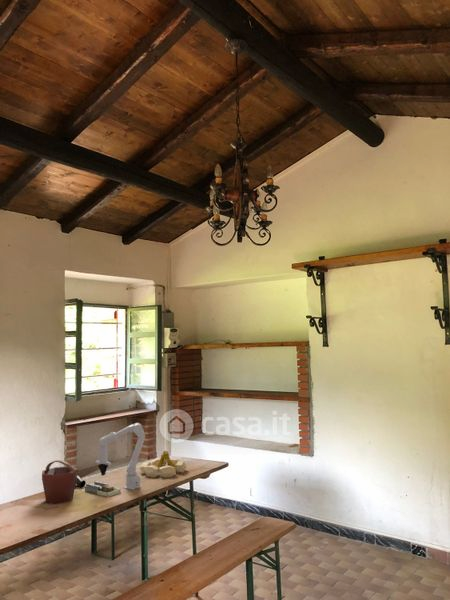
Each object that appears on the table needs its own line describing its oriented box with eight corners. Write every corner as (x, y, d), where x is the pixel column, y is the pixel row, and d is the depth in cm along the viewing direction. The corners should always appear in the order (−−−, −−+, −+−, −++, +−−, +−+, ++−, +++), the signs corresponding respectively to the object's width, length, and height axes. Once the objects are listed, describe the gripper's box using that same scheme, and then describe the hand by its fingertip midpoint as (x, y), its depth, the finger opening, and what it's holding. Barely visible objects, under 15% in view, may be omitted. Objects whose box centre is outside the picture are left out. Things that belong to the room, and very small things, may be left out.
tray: (120, 492, 317) (120, 488, 317) (107, 497, 308) (107, 493, 308) (109, 490, 323) (109, 486, 324) (96, 494, 315) (96, 490, 315)
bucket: (83, 499, 304) (83, 460, 307) (50, 508, 288) (50, 467, 291) (65, 492, 321) (65, 455, 324) (33, 500, 305) (34, 461, 308)
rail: (109, 490, 323) (109, 483, 323) (97, 494, 315) (97, 487, 316) (96, 487, 331) (96, 480, 332) (84, 490, 323) (84, 484, 324)
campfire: (166, 480, 344) (165, 457, 346) (132, 475, 362) (131, 453, 363) (193, 469, 374) (193, 447, 376) (160, 465, 391) (160, 444, 393)
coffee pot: (79, 483, 341) (87, 487, 336) (58, 493, 327) (65, 497, 322) (79, 473, 341) (87, 477, 336) (58, 482, 326) (65, 486, 321)
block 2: (110, 491, 318) (113, 492, 315) (105, 493, 314) (109, 494, 312) (110, 485, 318) (113, 486, 316) (105, 487, 315) (109, 488, 312)
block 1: (109, 491, 317) (109, 485, 318) (105, 493, 314) (104, 487, 315) (106, 490, 320) (106, 484, 320) (101, 492, 317) (101, 486, 317)
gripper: (91, 455, 329) (92, 475, 327) (105, 457, 320) (105, 477, 319) (100, 453, 334) (100, 472, 333) (113, 455, 326) (113, 475, 324)
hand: (103, 475), depth 326 cm, fingers closed
